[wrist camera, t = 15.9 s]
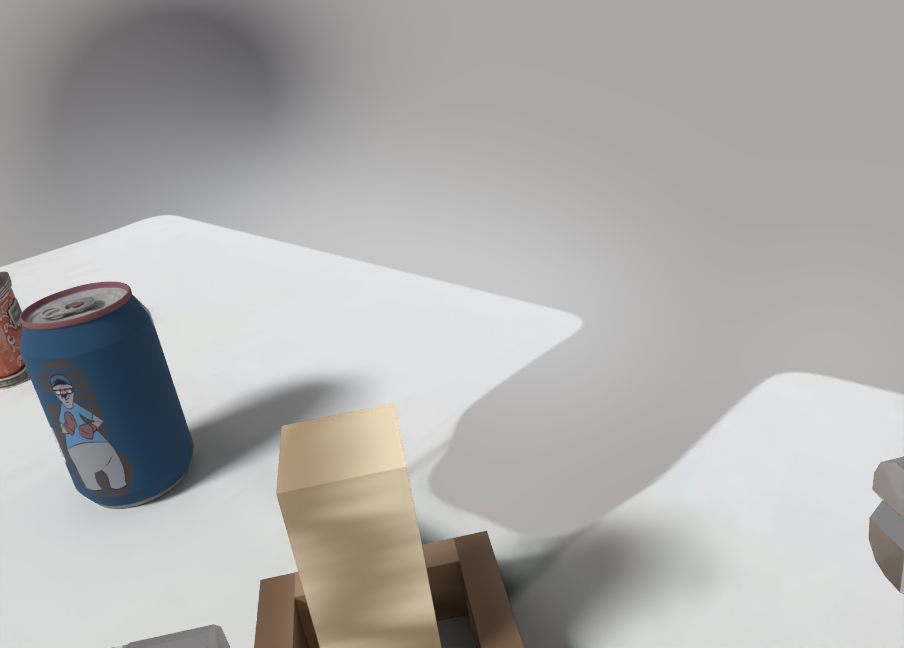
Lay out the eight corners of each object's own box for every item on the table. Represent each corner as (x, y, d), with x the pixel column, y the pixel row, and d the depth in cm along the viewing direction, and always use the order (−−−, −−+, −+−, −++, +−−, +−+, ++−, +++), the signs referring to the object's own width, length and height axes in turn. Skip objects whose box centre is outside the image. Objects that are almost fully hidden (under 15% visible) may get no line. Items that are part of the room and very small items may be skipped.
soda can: (188, 435, 51) (134, 268, 46) (208, 486, 45) (148, 301, 40) (78, 473, 48) (8, 301, 43) (85, 532, 43) (4, 341, 38)
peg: (441, 648, 32) (394, 402, 27) (457, 732, 28) (406, 466, 23) (347, 670, 32) (281, 425, 27) (350, 758, 28) (276, 493, 23)
